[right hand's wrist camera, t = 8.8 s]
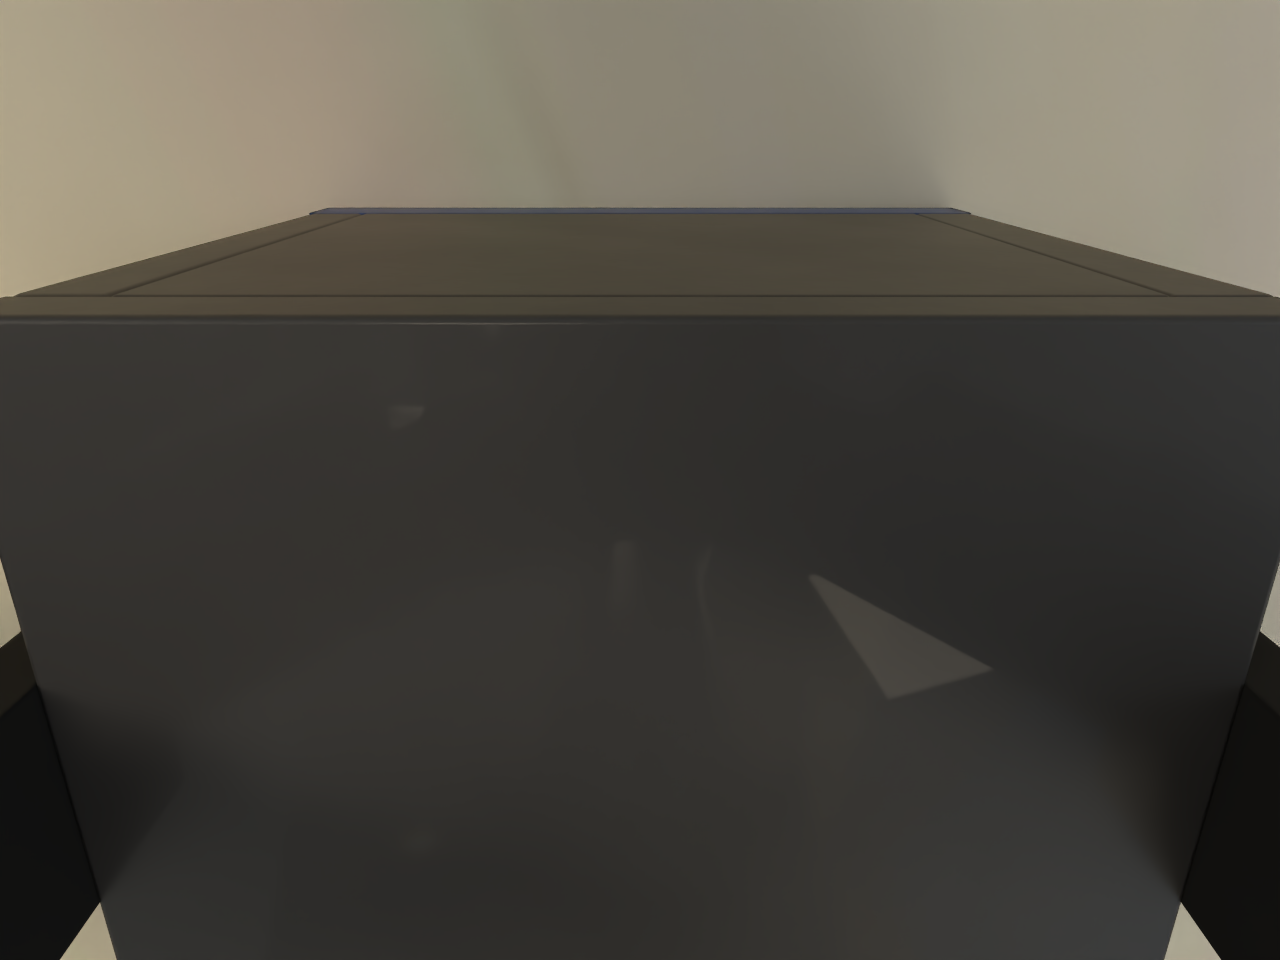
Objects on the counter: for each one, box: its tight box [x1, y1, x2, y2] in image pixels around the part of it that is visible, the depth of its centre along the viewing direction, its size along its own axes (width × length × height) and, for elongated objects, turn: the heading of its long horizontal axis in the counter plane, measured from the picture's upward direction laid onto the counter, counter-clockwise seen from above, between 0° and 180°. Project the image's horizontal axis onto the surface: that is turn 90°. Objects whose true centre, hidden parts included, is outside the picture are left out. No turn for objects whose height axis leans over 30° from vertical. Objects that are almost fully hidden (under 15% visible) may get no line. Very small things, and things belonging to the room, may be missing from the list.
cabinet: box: [0, 208, 1280, 960], centre depth 15 cm, size 18×11×10 cm, turn 0°
